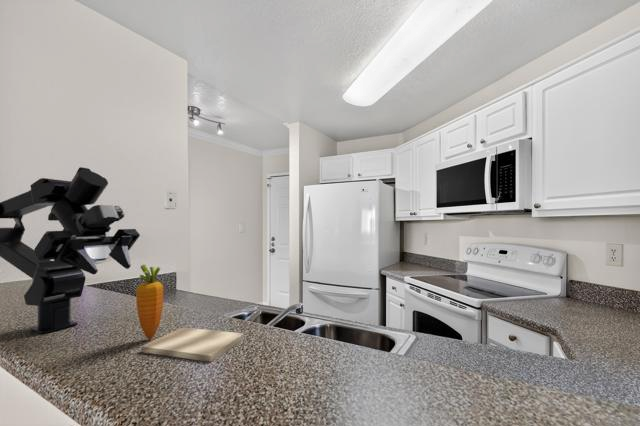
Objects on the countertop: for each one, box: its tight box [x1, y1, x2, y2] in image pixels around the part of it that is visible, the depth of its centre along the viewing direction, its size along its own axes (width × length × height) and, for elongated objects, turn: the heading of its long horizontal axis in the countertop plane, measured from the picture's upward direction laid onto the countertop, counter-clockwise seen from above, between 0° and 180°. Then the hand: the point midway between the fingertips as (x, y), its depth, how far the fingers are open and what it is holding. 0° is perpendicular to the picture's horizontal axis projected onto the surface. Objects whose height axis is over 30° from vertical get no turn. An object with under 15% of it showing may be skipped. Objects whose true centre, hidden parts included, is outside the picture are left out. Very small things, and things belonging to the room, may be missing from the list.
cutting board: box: [141, 326, 245, 363], centre depth 55 cm, size 15×10×1 cm, turn 72°
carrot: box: [135, 264, 164, 341], centre depth 59 cm, size 5×5×15 cm
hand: (113, 270), depth 62 cm, fingers open, 7 cm apart
